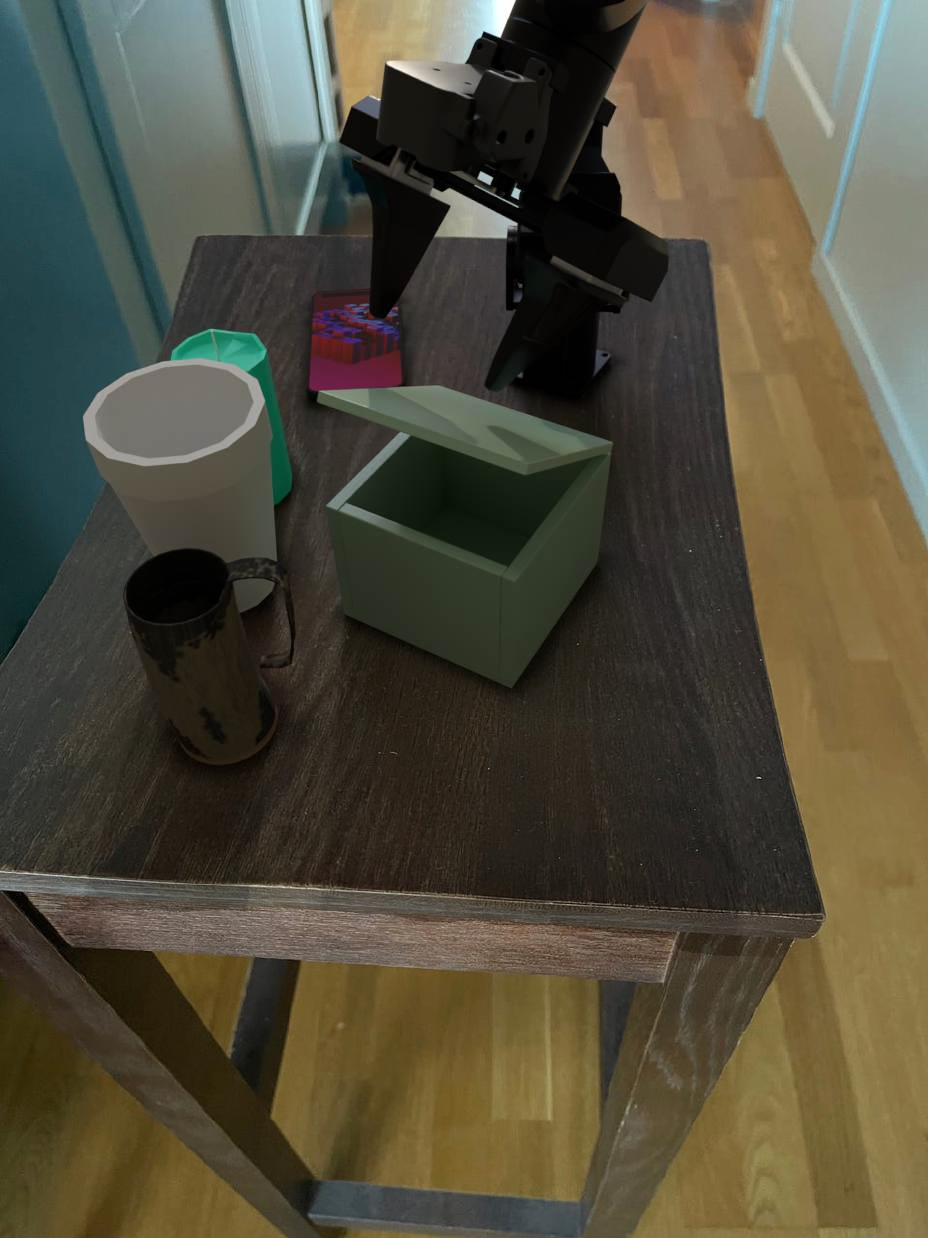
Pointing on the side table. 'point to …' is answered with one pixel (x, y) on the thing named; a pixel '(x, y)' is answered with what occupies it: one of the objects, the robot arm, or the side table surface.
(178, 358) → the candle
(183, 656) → the mug
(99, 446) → the foam cup
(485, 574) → the green bin
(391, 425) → the bin lid
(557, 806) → the side table surface
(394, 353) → the smartphone
